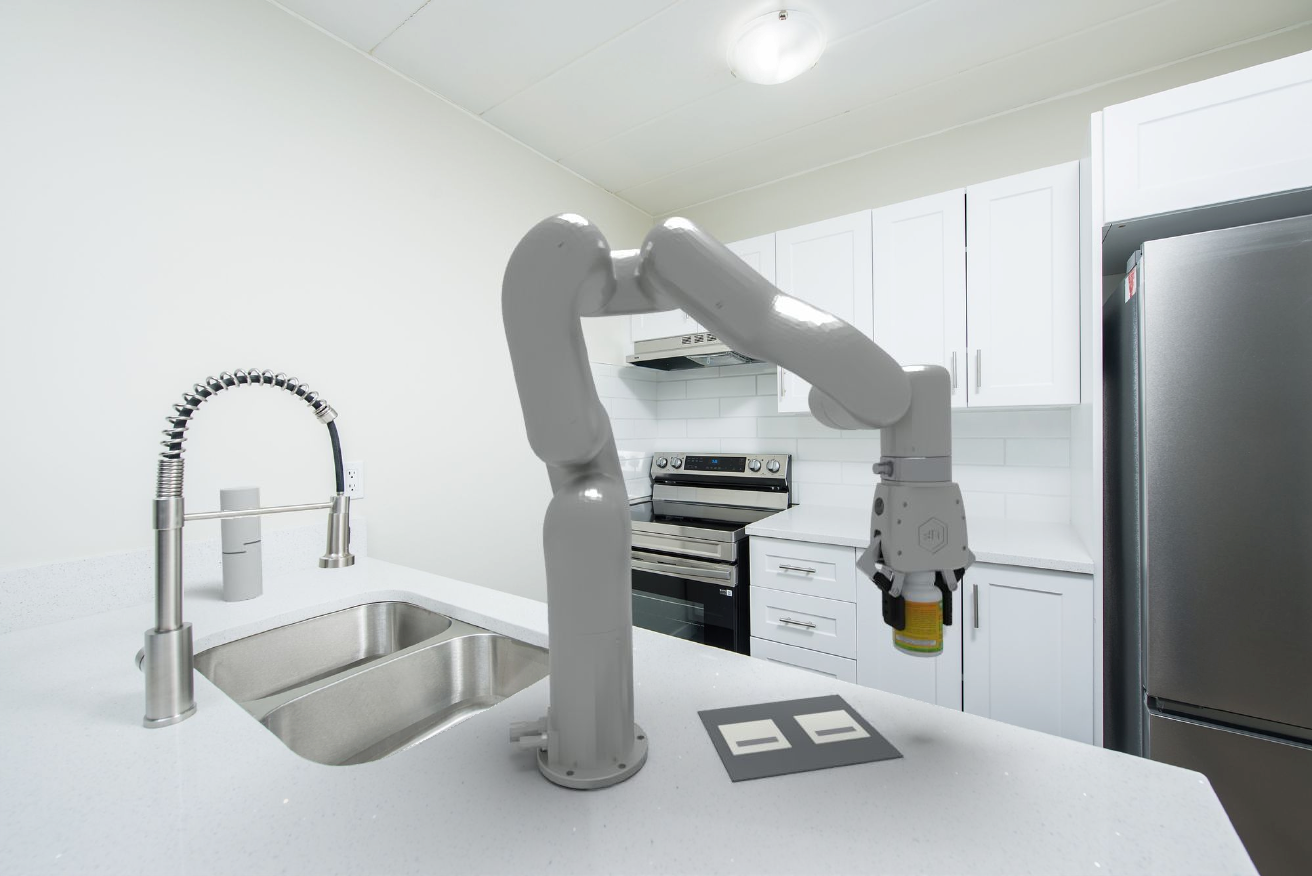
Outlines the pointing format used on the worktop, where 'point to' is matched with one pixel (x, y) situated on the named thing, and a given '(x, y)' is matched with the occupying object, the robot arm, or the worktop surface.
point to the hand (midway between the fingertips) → (917, 622)
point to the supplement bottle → (921, 617)
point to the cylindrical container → (241, 545)
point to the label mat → (793, 737)
